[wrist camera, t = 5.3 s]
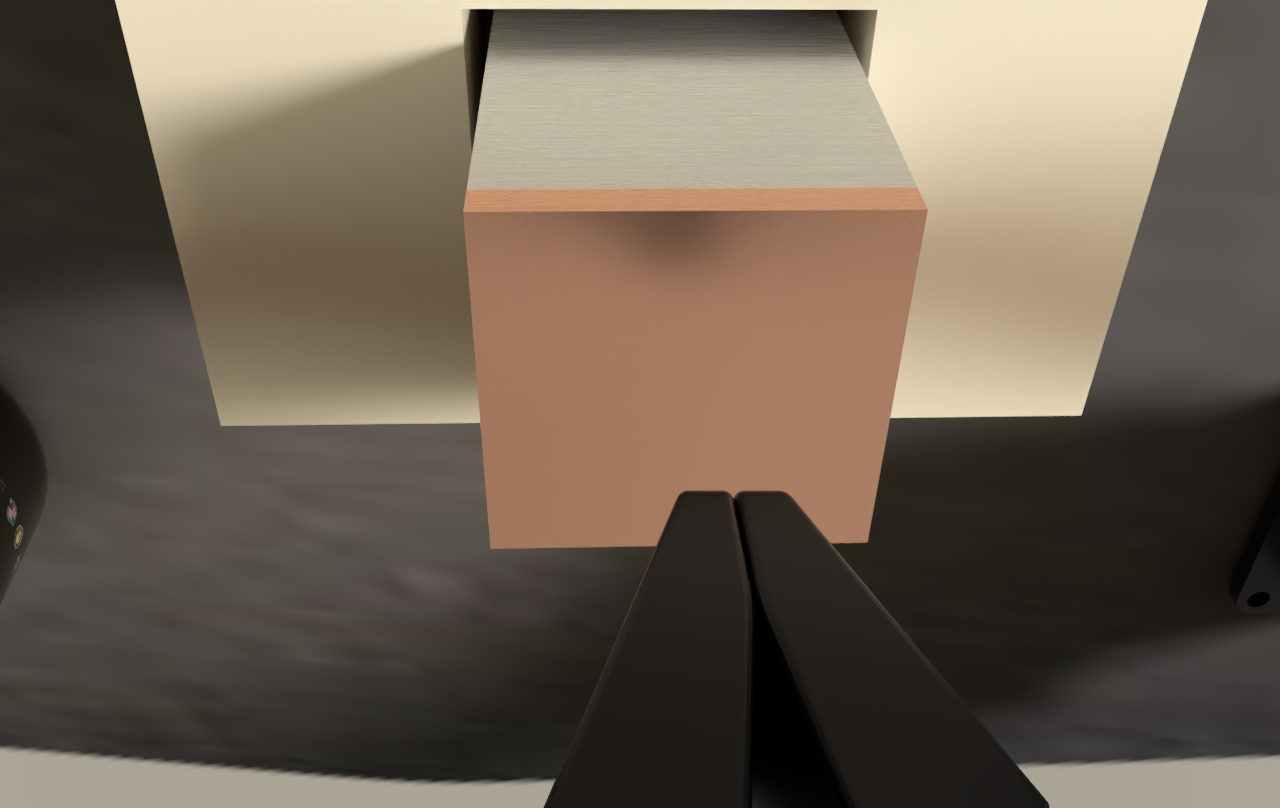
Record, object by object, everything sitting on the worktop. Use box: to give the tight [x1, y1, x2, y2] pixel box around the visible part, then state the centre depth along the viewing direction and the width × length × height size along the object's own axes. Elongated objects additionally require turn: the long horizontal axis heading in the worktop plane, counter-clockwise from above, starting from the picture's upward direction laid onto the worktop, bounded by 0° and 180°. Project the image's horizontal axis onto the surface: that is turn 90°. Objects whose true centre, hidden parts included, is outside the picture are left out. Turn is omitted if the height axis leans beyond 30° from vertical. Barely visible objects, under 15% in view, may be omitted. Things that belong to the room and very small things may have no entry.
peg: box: [463, 9, 928, 549], centre depth 14 cm, size 4×4×6 cm
